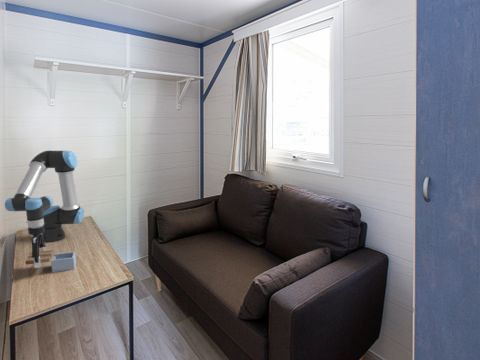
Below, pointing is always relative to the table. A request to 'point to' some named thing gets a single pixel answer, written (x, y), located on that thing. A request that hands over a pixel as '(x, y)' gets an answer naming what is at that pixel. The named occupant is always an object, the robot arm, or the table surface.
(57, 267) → the slide box
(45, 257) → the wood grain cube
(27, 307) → the table surface
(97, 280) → the table surface
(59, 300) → the table surface
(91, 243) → the table surface
